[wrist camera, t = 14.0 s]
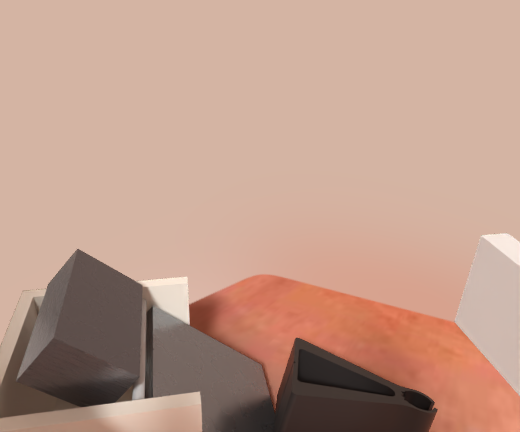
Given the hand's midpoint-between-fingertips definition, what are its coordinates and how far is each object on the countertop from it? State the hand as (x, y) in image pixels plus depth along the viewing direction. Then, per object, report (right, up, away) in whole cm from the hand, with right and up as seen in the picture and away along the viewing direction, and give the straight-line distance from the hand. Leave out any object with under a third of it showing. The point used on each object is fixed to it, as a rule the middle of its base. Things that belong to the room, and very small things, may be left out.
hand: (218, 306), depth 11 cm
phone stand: (+3, -13, +28) cm, 31 cm away
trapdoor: (-7, -11, +26) cm, 30 cm away
